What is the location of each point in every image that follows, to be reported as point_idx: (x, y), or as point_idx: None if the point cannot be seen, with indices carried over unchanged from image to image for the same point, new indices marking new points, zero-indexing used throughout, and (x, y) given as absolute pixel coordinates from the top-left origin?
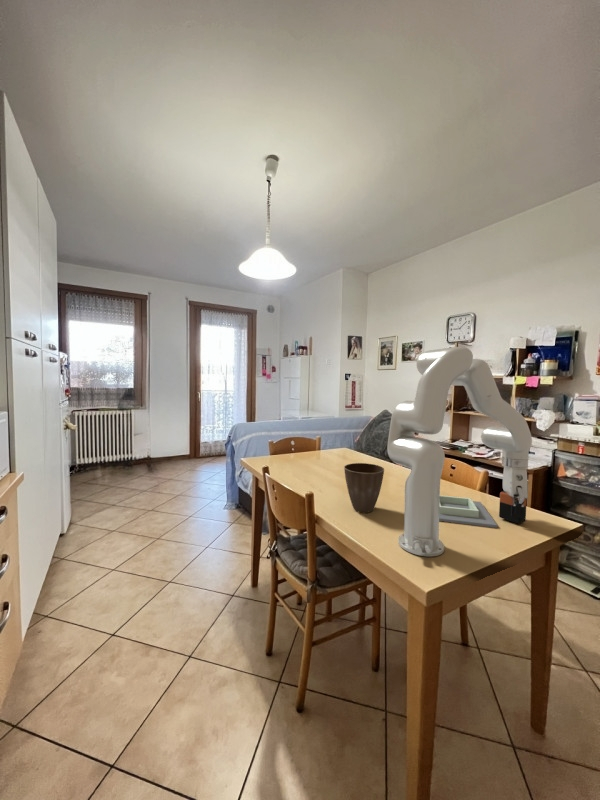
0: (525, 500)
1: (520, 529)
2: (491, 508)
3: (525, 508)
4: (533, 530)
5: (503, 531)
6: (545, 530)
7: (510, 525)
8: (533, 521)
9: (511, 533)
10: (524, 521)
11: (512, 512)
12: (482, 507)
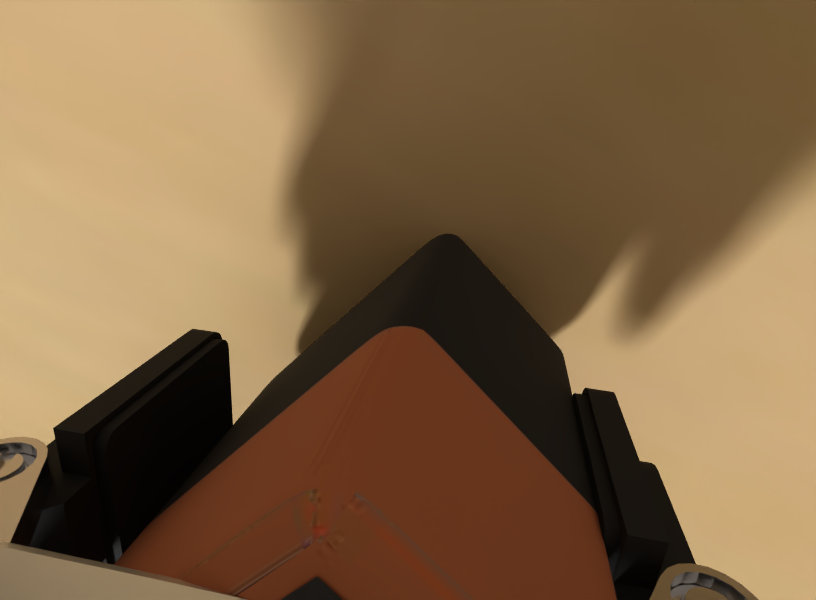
0: (453, 473)
1: (661, 373)
2: (64, 405)
3: (455, 332)
4: (682, 221)
5: (732, 569)
6: (669, 30)
7: None
8: (336, 57)
9: (787, 520)
10: (478, 259)
11: None
12: None
